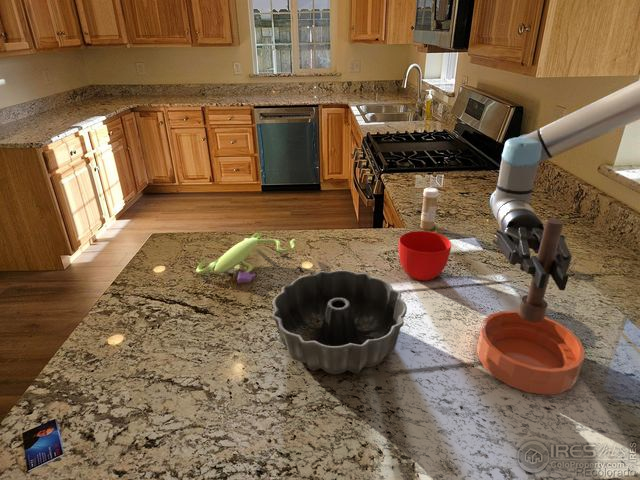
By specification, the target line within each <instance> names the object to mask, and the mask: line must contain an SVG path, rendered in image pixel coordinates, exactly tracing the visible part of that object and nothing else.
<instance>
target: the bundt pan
mask: <svg viewBox="0 0 640 480" xmlns="http://www.w3.org/2000/svg"><path fill="white" fill-rule="evenodd" d="M272 309H273V312H272V314H271V318H272V319H271V320H273V321H275V325H276V329H277V331H278V336H279V339H280V341H281V343H282V344H283V345H284V347H286V348H287V351H288V353H289V354H290V356H291V357H292V358H293V359H294V360H296V361H298V362H300V363H304V364H306V365H307V367H308V369H309V370H310V371H318V370H320V369H322V370H323V371H324V372H326V373H327V374H331V375H340V374H343V373H345V372H346V371H349V372H351V373H353V374H359V373H360V372H361V371H362V369H363V368H373V367H376V366H377V365H379V364H380V363H381V362H382V361H383V360H384V359H385V357H386V356H388V355H390V354H392V353H393V352H394V350H395V348H396V346H397V342H398V339H399V335H400V332H401V328H402V327H403V326H404V324H405V322H404V318H405V316H406V315H407V310H408V307H407V304H406V302H405V301H404V299H402V292H401V291H399V290H397V289H394V288H393V285H391V284H390V282H388V281H386V280H384V279H382V278H379V277H373V276H372V275H370V274H368V273H367V272H362V273H361V272H360V273H358V272H355V271H351V270H344V269H343V270H342V269H340V270H333V271H323V270H322V271H318V272H317V273H315V274H307V275H302V276H300V277H298V278H296V279H295V280H293V281H292V282H291V283H290V284H287V285H284V286H282V287H281V292H280V293H278V294H277V295H276V296H275V297H274V298H273V300H272ZM356 319H357V320H356ZM314 320H317V321H320V322H321V325H314V324H313V323H312V322H313V321H314ZM364 326H367V327H364ZM302 327H303V328H302ZM305 327H306V328H309V329H311V330H313V331H308V330H305V329H304V328H305ZM372 334H373V335H372ZM301 335H305V336H306V335H307V336H308V337H309V339H307V340H304V339H303V337H302V336H301Z"/></svg>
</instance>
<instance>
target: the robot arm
mask: <svg viewBox="0 0 640 480" xmlns="http://www.w3.org/2000/svg"><path fill="white" fill-rule="evenodd" d="M638 121H640V79H639V80H637V81H635V82H633V83H631V84H629V85H627V86H625V87H622V88H620V89H619V90H617V91H614V92H612V93H610V94H608V95H606V96H604V97H602V98H600V99H597V100H596V101H594V102H592V103H589V104H587V105H586V106H583V107H582V108H580V109H577V110H575V111H573V112H572V113H569V114H566V115H565V116H563V117H561V118H559V119H556V120H555V121H553V122H551V123H549V124H546V125H545V126H542V127H539V129H537V130H536V129H535V130H534V131H532V132H529V133H527V134H525V133H524V134H521V135H520V136H518V137H512V138H508V139H507V140H506V141H505V142H504V147H503V151H502V153H501V161H500V167H499V173H498V180H497V184H496V188H495V190H494V191H493V193H492V194H491V196H490V199H489V206H490V209H491V212H492V214H493V216H494V218H495V219H496V222H497V223H498V225H499V227H500V230H499V229H495V230H494V232H493V237H492V241H491V242H492V243H493V244H494V245H496V246H497V247H498V248H499V250H500V252H501V253H502V254H503V257H505V259H506V260H507V262H508V263H509V264H510V265H512V266H516V265H518V264H519V266H520V267H519V270H520V271H522V272H525V273H526V274H527V275H531V278H532V277H533V279H534V281H535V283H536V285H537V287H538V288H542V289H543V286H544V283H545V279H546V275H547V274H546V272H545V271H544V269H543V267H542V265H541V264H540V262H539V260H538V259H537V255H538V252H539V248H540V244H541V240H542V236H543V232H544V228H545V225H544V224H543V222H542V220H541V219H540V217H539V216H538V214H537V213H536V211H535V210H534V209H533V207H532V205H530V204H531V203H530V202H531V198H532V194H533V189H534V185H535V180H536V176H537V173H538V168H539V165H540V164H541V163H543V162H545V161H548V160H550V159H552V158H554V157H557V156H558V155H561V154H563V153H565V152H568V151H571V150H573V149H575V148H577V147H579V146H582V145H584V144H587V143H589V142H591V141H593V140H596V139H597V138H600V137H602V136H605V135H607V134H609V133H612V132H614V131H616V130H619V129H621V128H623V127H625V126H628V125H630V124H632V123H635V122H638ZM530 250H532V251H533V252H534V253H535V254H536V255H532V254H531V251H530ZM572 258H573V255H572V254H571V251H570V249H569V248H568V246H567V244H566V235H565V234H561V236H560V240H559V243H558V247H557V251H556V254H555V258H554V262H553V266H552V269H551V273H550V277H551V278H552V280H553V281H554V283H555V285H556V287H557V288H558V290H559V291H565V290H566V287H567V285H568V284H567V283H568V280H569V277H570V276H569V275H568V273H567V272H568V270H569V269H570V265H571V261H572Z"/></svg>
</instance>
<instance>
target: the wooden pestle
mask: <svg viewBox="0 0 640 480" xmlns="http://www.w3.org/2000/svg"><path fill="white" fill-rule="evenodd" d="M564 224H565V221H563V220H562V219H559V218H556V217H549V218H546V220H545V223H544V232H543V236H542V240H541V244H540V248H539V252H538V254H537V255H536V257H537V259H538V260H539V262H540V264H541V265H542V267H543V269H544V271H545V272H546V274H547V275H546V279H545V283H544V286H543V289H542V288H538V287H537V285H536V283H535V281H534V279H533V277H532V276H531V280H530V284H529V289H528V293H527V295H522V297H521V298H520V303H519V306H518V310H517V311H518V314H519V316H520V317H521V318H523V319H525V320H527V321H530V322H541V321H543V320H544V317H546V313H547V310H548V306H549V304H548V301H546V299H545V295H546V291H547V287H548V284H549V281H550V277H551V275H550V273H551V269H552V266H553V262H554V258H555V254H556V251H557V247H558V243H559V240H560V236H561V235H562V231H563V228H564Z"/></svg>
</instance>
